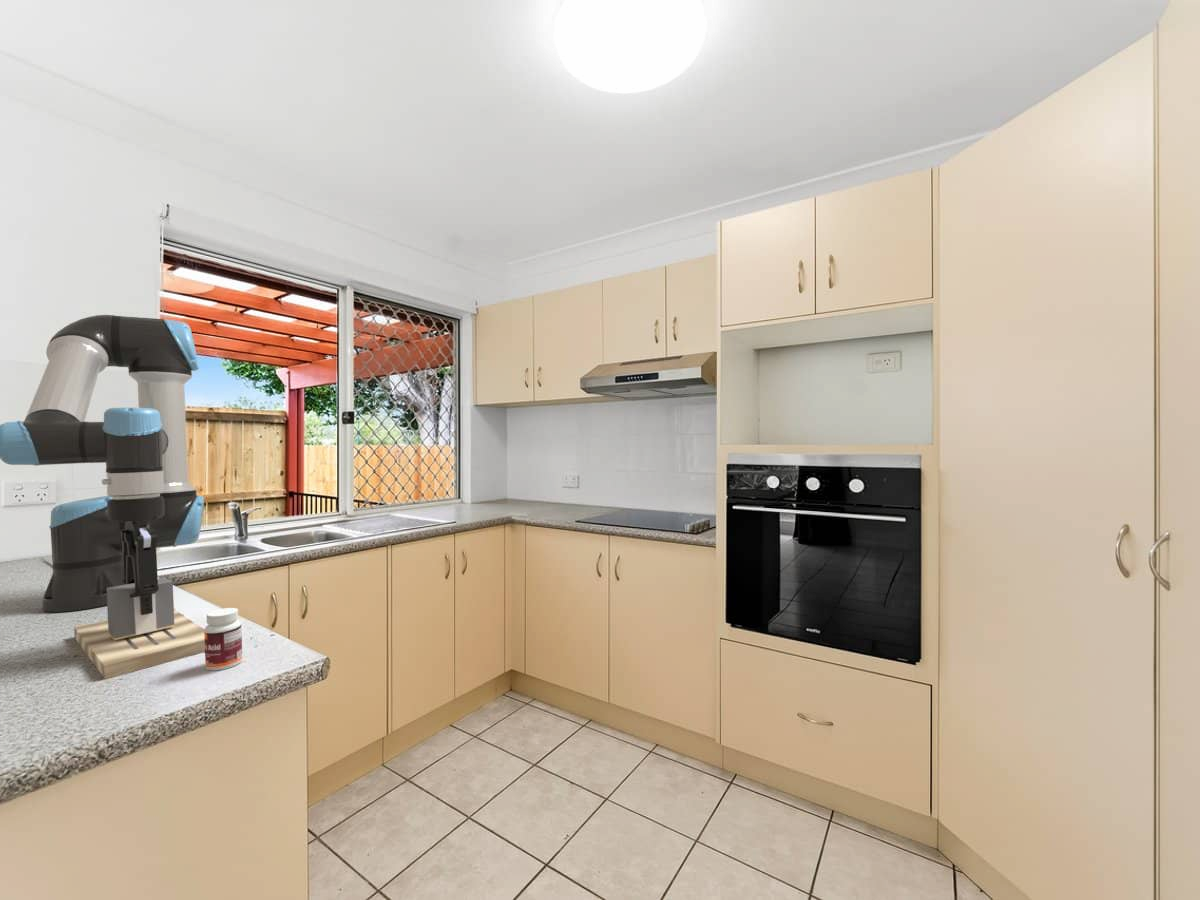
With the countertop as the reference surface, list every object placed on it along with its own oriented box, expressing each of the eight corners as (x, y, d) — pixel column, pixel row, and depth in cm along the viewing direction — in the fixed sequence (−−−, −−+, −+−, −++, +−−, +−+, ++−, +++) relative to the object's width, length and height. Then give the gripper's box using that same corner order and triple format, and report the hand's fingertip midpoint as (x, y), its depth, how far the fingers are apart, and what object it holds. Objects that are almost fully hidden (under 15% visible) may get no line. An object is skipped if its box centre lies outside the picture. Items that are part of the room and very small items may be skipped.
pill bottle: (198, 669, 82) (195, 615, 82) (229, 656, 87) (226, 605, 86) (219, 673, 80) (217, 618, 80) (249, 660, 85) (247, 608, 85)
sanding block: (114, 640, 88) (112, 592, 88) (108, 634, 92) (106, 587, 91) (174, 626, 95) (172, 581, 95) (167, 620, 98) (165, 577, 98)
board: (74, 638, 97) (74, 626, 97) (171, 616, 108) (170, 606, 108) (104, 679, 79) (104, 665, 79) (216, 648, 90) (215, 636, 90)
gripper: (97, 496, 95) (103, 624, 96) (118, 501, 84) (125, 647, 85) (150, 492, 101) (156, 613, 102) (177, 496, 90) (183, 633, 90)
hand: (142, 628), depth 93 cm, fingers closed on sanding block, 5 cm apart
